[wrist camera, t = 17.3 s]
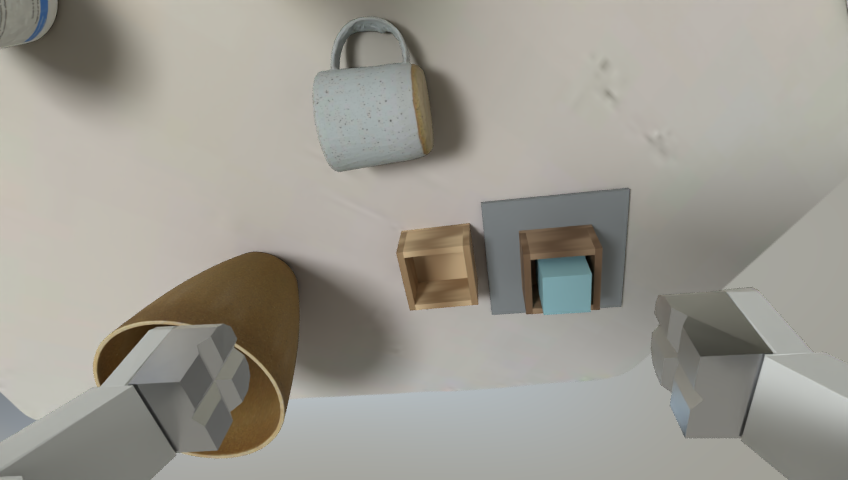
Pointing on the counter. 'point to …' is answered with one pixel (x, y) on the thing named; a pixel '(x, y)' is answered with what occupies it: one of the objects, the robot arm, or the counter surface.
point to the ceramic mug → (372, 107)
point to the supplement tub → (25, 20)
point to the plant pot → (254, 328)
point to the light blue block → (564, 284)
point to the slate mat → (551, 212)
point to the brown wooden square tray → (557, 246)
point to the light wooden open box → (438, 267)
